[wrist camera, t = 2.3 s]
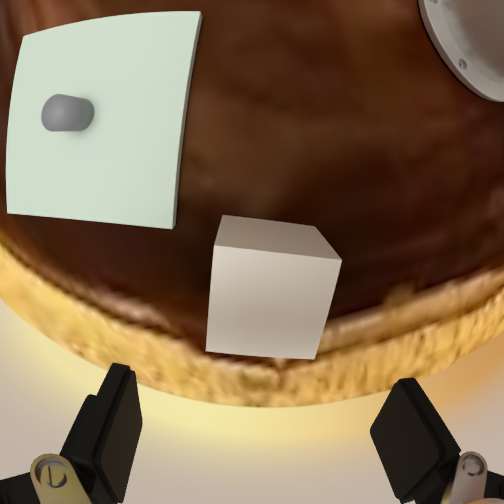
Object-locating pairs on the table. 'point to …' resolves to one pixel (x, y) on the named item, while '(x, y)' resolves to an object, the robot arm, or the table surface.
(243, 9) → the table surface
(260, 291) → the off-white plain cube
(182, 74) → the stub plate
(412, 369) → the table surface
